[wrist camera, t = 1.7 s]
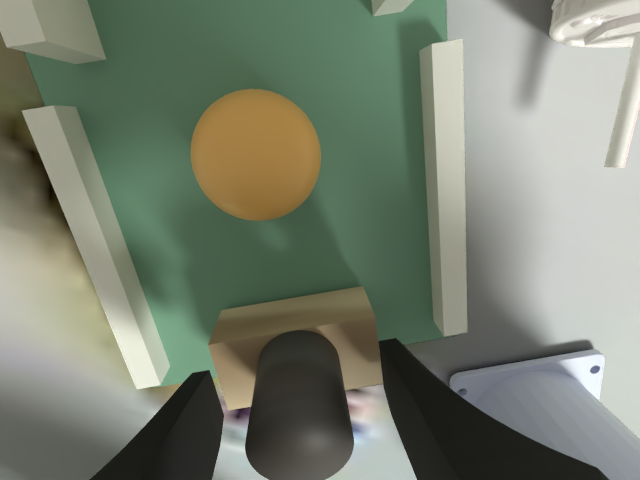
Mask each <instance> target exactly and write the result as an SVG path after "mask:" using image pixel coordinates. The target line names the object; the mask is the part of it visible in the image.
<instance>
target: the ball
mask: <svg viewBox="0 0 640 480" xmlns="http://www.w3.org/2000/svg"><path fill="white" fill-rule="evenodd" d="M190 155H191V164H192V169H193V172H194V175H195V178H196V180H197V182H198V184H199V186H200V188H201V189H202V191H203V192H204V194H205V195H206V196H207V197H208V198H209V200H211V201H212V202H213V203H214V204H215V205H216V206H217V207H219V208H220V209H221V210H223V211H225V212H226V213H228V214H230V215H233V216H235V217H237V218H241V219H245V220H251V221H266V220H272V219H276V218H279V217H282V216H284V215H286V214H288V213H290V212H292V211H293V210H294V209H296V208H297V207H299V206H300V205H301V204H302V203H303V202H304V201H305V200H306V198H307V197H308V196H309V195H310V193H311V192H312V190H313V188H314V186H315V184H316V182H317V179H318V176H319V172H320V166H321V149H320V144H319V139H318V136H317V133H316V130H315V128H314V127H313V125H312V123H311V121H310V120H309V118H308V117H307V115H306V114H305V113H304V112H303V111H302V110H301V109H300V108H299V107H298V106H297V105H296V104H295V103H294V102H292V101H291V100H289V99H288V98H286V97H284V96H282V95H280V94H277V93H274V92H272V91H267V90H262V89H244V90H239V91H235V92H232V93H229V94H227V95H225V96H223V97H221V98H219V99H218V100H216V101H215V102H214V103H213V104H211V105H210V106H209V107H208V109H207V110H206V111H205V112H204V113H203V115H202V116H201V118H200V119H199V121H198V123H197V125H196V127H195V130H194V133H193V136H192V141H191V150H190Z"/></svg>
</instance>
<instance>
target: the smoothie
mask: <svg viewBox="0 0 640 480" xmlns="http://www.w3.org/2000/svg"><path fill="white" fill-rule="evenodd" d="M551 8H552V10H553V14H552V19H551V25H550V31H549V35H550V37H551V38H552V39H553V40H555V41H556V42H559V43H562V44H565V45H570V46H577V47H593V48H611V47H632V49H631V53H630V58H629V62H628V66H627V71H626V75H625V79H624V84H623V88H622V92H621V96H620V101H619V105H618V109H617V114H616V118H615V122H614V127H613V131H612V135H611V139H610V144H609V148H608V152H607V157H606V161H605V165H604V167H614V168H624V167H625V163H626V159H627V155H628V151H629V147H630V143H631V139H632V135H633V131H634V127H635V123H636V119H637V115H638V111H639V107H640V0H554V2H553V5H552V7H551Z"/></svg>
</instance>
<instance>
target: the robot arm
mask: <svg viewBox="0 0 640 480" xmlns="http://www.w3.org/2000/svg"><path fill="white" fill-rule="evenodd" d="M379 350H380V358H381V367H382V375H383V384H384V390H385V393H386V397H387V400H388V404H389V408H390V411H391V415H392V417H393V420H394V423H395V425H396V428H397V430H398V433H399V435H400V438H401V440H402V443H403V445H404V448H405V450H406V453H407V455H408V458H409V460H410V463H411V465H412V468H413V470H414V473H415V475H416V478H417V480H640V439H639V438H638V437H637V436H636V435H635V434H634V433H633V432H632V431H631V430H630V429H629V428H628V427H627V426H625V425H624V424H623V423H622V422H621V421H620V420H619V419H618V418H617V417H616V416H615V415H614V414H613V413H612V412H610V411H609V410H608V409H607V408H606V407H605V406H604V405H603V404H602V403H601V402H600V401H599V397H600V390H601V383H602V376H603V369H604V362H605V356H604V355H603V354H602V353H601V352H599V351H598V350H596V349H591V350H586V351H580V352H574V353H568V354H562V355H557V356H551V357H545V358H539V359H533V360H528V361H522V362H516V363H510V364H505V365H499V366H493V367H487V368H481V369H476V370H470V371H464V372H458V373H455V374H454V375H453V376H452V377H451V378H450V388H449V387H448V386H447V385H446V384H444V383H443V382H442V381H441V380H440V379H438V378H437V377H436V376H435V375H434V374H433V373H432V372H430V371H429V370H428V369H427V368H426V367H425V366H424V365H423V364H422V363H421V362H420V361H418V360H417V359H416V358H415V357H414V356H413V355H412V354H411V353H410V352H409V351H408V350H407V348H406V347H405V346H404V345H403V344H402V343H401V342H400V341H399V340H398V339H396V338H393V339H387V340H381V341H379ZM460 389H462V390H460ZM459 390H460V391H459ZM223 418H224V414H223V411H222V408H221V404H220V401H219V398H218V395H217V392H216V389H215V386H214V383H213V379H212V376H211V373H210V370H206V371H200V372H194V373H192V374H191V375H190V376H189V377H188V378H187V379H186V380H185V381H184V382H183V384H182V385H181V386H180V387H179V388H178V389H177V391H176V392H175V393H174V394H173V395H172V396H171V398H170V399H169V400H168V401H167V402H166V403H165V404H164V406H163V407H162V408H161V409H160V410H159V411H158V412H157V413H156V415H155V416H154V417H153V418H152V419H151V420H150V421H149V422H148V423H147V424H146V425H145V427H144V428H143V429H142V430H141V431H140V432H139V433H138V434H137V435H136V436H135V437H134V438H133V439H132V440H131V441H130V442H129V443H128V444H127V445H126V446H125V447H124V448H123V449H122V450H121V451H120V452H119V453H118V454H117V455H116V456H115V457H114V458H113V459H112V460H111V461H110V462H109V463H108V464H107V465H105V466H104V467H103V468H102V469H101V470H100V471H99V472H98V473H97V474H96V475H94V476H93V477H92V478H91V479H90V480H212V476H213V472H214V468H215V464H216V460H217V456H218V452H219V448H220V442H221V435H222V427H223Z"/></svg>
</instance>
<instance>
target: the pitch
mask: <svg viewBox="0 0 640 480" xmlns="http://www.w3.org/2000/svg"><path fill="white" fill-rule="evenodd" d="M0 32H1V35H2V37H3V40H4V42H5V45H6V47H7V48H11V49H15V50H19V51H23V52H24V54H25V56H26V59H27V61H28V64H29V66H30V69H31V71H32V74H33V77H34V79H35V82H36V84H37V87H38V89H39V92H40V94H41V97H42V100H43V102H44V105H45V107H41V108H35V109H28V110H22V113H23V116H24V118H25V121H26V123H27V125H28V128H29V130H30V133H31V135H32V137H33V140H34V142H35V145H36V147H37V150H38V152H39V154H40V157H41V159H42V162H43V164H44V166H45V169H46V171H47V174H48V176H49V179H50V181H51V183H52V186H53V188H54V191H55V193H56V195H57V198H58V200H59V203H60V205H61V208H62V210H63V212H64V215H65V217H66V220H67V222H68V224H69V227H70V229H71V232H72V234H73V237H74V239H75V241H76V244H77V246H78V249H79V251H80V253H81V256H82V258H83V261H84V263H85V266H86V268H87V270H88V273H89V275H90V278H91V280H92V282H93V285H94V287H95V290H96V292H97V295H98V297H99V299H100V302H101V304H102V307H103V309H104V311H105V314H106V316H107V319H108V321H109V324H110V326H111V328H112V331H113V333H114V336H115V338H116V340H117V343H118V345H119V348H120V350H121V353H122V355H123V357H124V360H125V362H126V365H127V367H128V370H129V372H130V374H131V377H132V379H133V382H134V384H135V386H136V389H141V388H147V387H153V386H155V387H161V386H167V385H172V384H178V383H183V382H184V381H185V380H186V379H187V378H188V377H189V376H190V375H191V374H192V373H194V372H200V371H206V370H210V373H211V376H212V378H213V377H218V376H217V373H216V370H215V366H214V363H213V360H212V357H211V354H210V350H209V347H208V343H209V341H210V338H211V336H212V333H213V330H214V328H215V325H216V323H217V320H218V317H219V315H220V312H221V310H225V309H230V308H236V307H242V306H248V305H254V304H260V303H266V302H272V301H278V300H284V299H289V298H295V297H301V296H307V295H313V294H319V293H325V292H331V291H337V290H342V289H348V288H354V287H360V286H363V287H364V290H365V292H366V295H367V297H368V300H369V302H370V305H371V307H372V310H373V312H374V315H375V319H376V327H377V336H378V344H379V341H381V340H387V339H393V338H396V339H398V340H399V341H400V342H401V343H402V344H403V345H406V344H411V343H417V342H423V341H429V340H435V339H441V338H446V337H452V336H456V334H462V333H467V271H466V207H465V144H464V80H463V39H458V40H452V41H447V14H446V0H0ZM244 89H262V90H267V91H272V92H274V93H277V94H280V95H282V96H284V97H286V98H288V99H289V100H291V101H292V102H294V103H295V104H296V105H297V106H298V107H299V108H300V109H301V110H302V111H303V112H304V113H305V114H306V115H307V117H308V118H309V120H310V121H311V123H312V125H313V127H314V128H315V130H316V133H317V136H318V139H319V144H320V149H321V166H320V172H319V176H318V179H317V182H316V184H315V186H314V188H313V190H312V192H311V193H310V195H309V196H308V197H307V198H306V200H305V201H304V202H303V203H302V204H301V205H300V206H299V207H297V208H296V209H294V210H293V211H292V212H290V213H288V214H286V215H284V216H282V217H279V218H276V219H272V220H266V221H251V220H245V219H241V218H237V217H235V216H233V215H230V214H228V213H226V212H225V211H223V210H221V209H220V208H219V207H217V206H216V205H215V204H214V203H213V202H212V201H211V200H209V198H208V197H207V196H206V195H205V194H204V192H203V191H202V189H201V188H200V186H199V184H198V182H197V180H196V178H195V175H194V172H193V169H192V164H191V155H190V150H191V141H192V136H193V133H194V130H195V127H196V125H197V123H198V121H199V119H200V118H201V116H202V115H203V113H204V112H205V111H206V110H207V109H208V107H209V106H210V105H211V104H213V103H214V102H215V101H216V100H218V99H219V98H221V97H223V96H225V95H227V94H229V93H232V92H235V91H239V90H244Z"/></svg>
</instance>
